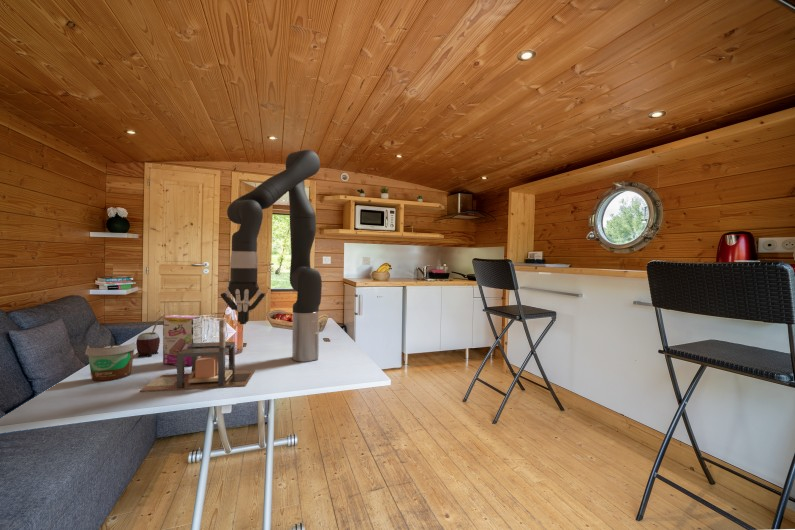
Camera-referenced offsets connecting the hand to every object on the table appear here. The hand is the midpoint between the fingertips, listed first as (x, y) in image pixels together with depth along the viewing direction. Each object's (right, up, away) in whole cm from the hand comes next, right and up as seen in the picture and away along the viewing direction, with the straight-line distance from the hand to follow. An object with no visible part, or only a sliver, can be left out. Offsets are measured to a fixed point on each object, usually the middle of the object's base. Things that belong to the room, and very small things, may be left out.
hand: (243, 323), depth 105 cm
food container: (-40, -17, -1) cm, 43 cm away
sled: (-9, -16, -1) cm, 18 cm away
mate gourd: (-45, -16, +24) cm, 54 cm away
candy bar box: (-27, -16, +14) cm, 35 cm away
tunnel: (-11, -17, -2) cm, 20 cm away
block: (-10, -15, -2) cm, 18 cm away
